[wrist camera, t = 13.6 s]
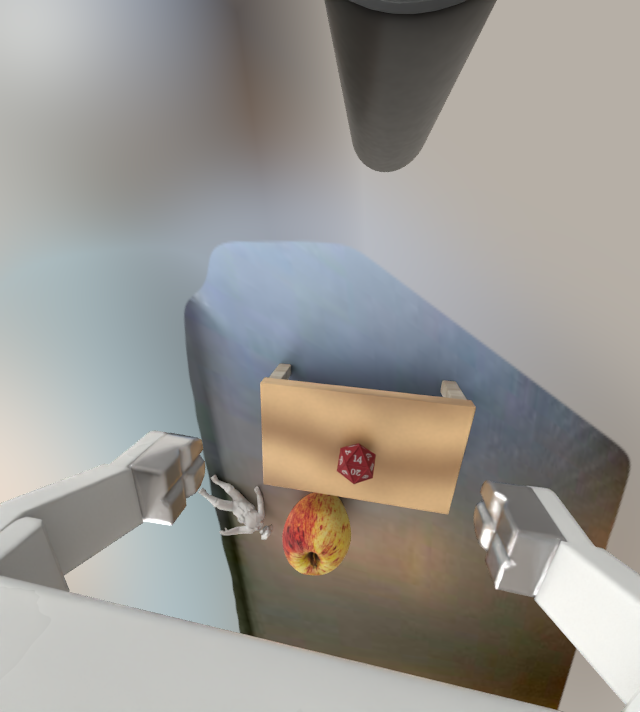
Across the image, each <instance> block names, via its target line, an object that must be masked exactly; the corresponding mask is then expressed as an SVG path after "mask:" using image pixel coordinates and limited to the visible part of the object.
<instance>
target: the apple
mask: <svg viewBox="0 0 640 712" xmlns="http://www.w3.org/2000/svg"><path fill="white" fill-rule="evenodd" d="M350 541H351V528H350V522H349V518H348V515H347V513H346V510H345V508H344V506H343V504H342V502H341V500H340V499H339V497H338V496H333V495H327V494H321V493H315V492H314V493H311V494H309V495H307V496H305V497H304V498H302V499H301V500H300V501H299V502H298V503H297V504H296V505H295V506H294V508H293V509H292V511H291V512H290V514H289V516H288V518H287V520H286V523H285V526H284V530H283V548H284V552H285V555H286V558H287V560H288V561H289V563H290V564H291V565H292V566H293V567H294V568H295V569H296V570H297V571H299V572H300V573H302V574H308V575H322V574H326V573H328V572H330V571H332V570H334V569H335V568H336V567H338V565H339V564H340V563H341V562H342V560H343V559H344V557H345V556H346V553H347V551H348V549H349V545H350Z"/></svg>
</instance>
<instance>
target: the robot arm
mask: <svg viewBox="0 0 640 712" xmlns="http://www.w3.org/2000/svg"><path fill="white" fill-rule="evenodd" d="M202 450H203V445H202V440H201V439H199V438H197V437H191V436H185V435H179V434H174V433H166V432H161V431H151V432H148V433H147V434H146V435H145V436H144V437H142V438H141V439H140V440H139V441H137V443H135V444H134V445H133V446H131V447H130V448H129V449H128V450H126V451H125V452H124V453H123V454H122V455H120V456H119V457H118V458H117V459H115V460H114V461H113V462H112V463H110V464H109V465H108V464H102V465H100V466H97V467H95V468H92V469H89V470H87V471H84V472H81V473H79V474H76V475H74V476H71V477H68V478H66V479H63V480H60V481H58V482H55V483H53V484H50V485H47V486H45V487H42V488H40V489H37V490H34V491H31V492H29V493H26V494H24V495H21V496H18V497H16V498H13V499H10V500H8V501H5V502H3V503H0V712H563V711H559V710H554V709H550V708H546V707H542V706H538V705H534V704H530V703H526V702H521V701H517V700H513V699H509V698H505V697H501V696H497V695H493V694H488V693H484V692H480V691H476V690H472V689H468V688H464V687H460V686H455V685H451V684H447V683H443V682H439V681H435V680H431V679H427V678H423V677H418V676H414V675H410V674H406V673H402V672H398V671H394V670H390V669H385V668H381V667H377V666H373V665H369V664H365V663H361V662H357V661H352V660H348V659H344V658H340V657H336V656H332V655H328V654H324V653H320V652H315V651H311V650H307V649H303V648H299V647H295V646H290V645H286V644H282V643H278V642H274V641H270V640H266V639H261V638H257V637H253V636H249V635H245V634H241V633H237V632H232V631H228V630H224V629H220V628H215V627H211V626H207V625H203V624H199V623H195V622H191V621H187V620H183V619H179V618H174V617H170V616H166V615H162V614H158V613H154V612H150V611H146V610H141V609H137V608H133V607H129V606H125V605H121V604H116V603H112V602H108V601H104V600H100V599H96V598H92V597H88V596H83V595H79V594H76V593H71V592H69V588H68V586H67V583H66V580H65V578H64V575H65V574H67V573H68V572H70V571H71V570H73V569H74V568H76V567H77V566H79V565H80V564H82V563H83V562H85V561H86V560H88V559H89V558H91V557H92V556H94V555H95V554H97V553H98V552H100V551H101V550H103V549H104V548H106V547H107V546H109V545H110V544H112V543H113V542H115V541H116V540H118V539H119V538H121V537H122V536H124V535H125V534H127V533H128V532H130V531H131V530H133V529H134V528H136V527H137V526H139V525H140V524H142V523H143V521H148V522H153V523H160V524H166V525H173V523H174V522H175V520H176V519H177V518H178V516H179V515H180V514H181V512H182V511H183V510H184V508H185V507H186V498H188V497H190V496H192V495H193V494H195V493H196V492H197V490H198V489H199V487H200V486H201V483H202V480H203V478H204V474H205V461H204V460H203V459H202V457H201V456H200V455H199V454H200V453H201V451H202ZM480 493H481V495H482V497H483V500H482V501H481V502H480V503H478V504H477V505H476V508H475V512H474V529H475V534H476V537H477V540H478V543H479V544H480V545H481V546H482V547H483V548H484V549H485V550H486V551H487V555H486V558H485V563H486V565H487V568H488V571H489V574H490V576H491V579H492V582H493V585H494V587H495V589H499V590H503V591H508V592H512V593H517V594H521V595H526V596H530V597H534V598H535V599H534V600H535V601H536V602H537V603H538V604H539V605H540V607H541V608H542V609H543V610H544V611H545V612H546V614H547V615H548V616H549V617H550V618H551V619H552V620H553V622H554V623H555V624H556V625H557V626H558V627H559V629H560V630H561V631H562V632H563V633H564V634H565V636H566V637H567V638H568V639H569V640H570V641H571V642H572V644H573V645H574V646H575V647H576V648H577V649H578V651H579V652H580V653H581V654H582V655H583V656H584V657H585V659H586V660H587V661H588V662H589V663H590V664H591V665H592V667H593V668H594V669H595V670H596V671H597V672H598V674H599V675H600V676H601V677H602V678H603V679H604V680H605V682H606V683H607V684H608V685H609V686H610V687H611V689H612V690H613V691H614V692H615V693H616V694H617V696H618V697H619V698H620V699H621V700H622V701H623V702H624V704H625V705H626V706H625V707H624V708H623V710H622V711H621V712H640V574H638V573H637V572H635V571H634V570H633V569H631V568H630V567H628V566H627V565H626V564H624V563H623V562H621V561H620V560H619V559H617V558H616V557H614V556H613V555H611V554H610V553H609V552H607V551H606V550H604V549H603V548H598V547H595V546H594V545H593V543H592V542H591V541H590V539H589V538H588V537H587V535H586V534H585V533H584V531H583V530H582V529H581V527H580V526H579V525H578V523H577V522H576V521H575V519H574V518H573V517H572V515H571V514H570V513H569V511H568V510H567V509H566V507H565V506H564V505H563V503H562V502H561V501H560V499H559V498H558V497H557V495H556V494H555V493H554V492H553V491H552V490H550V489H548V488H540V487H532V486H521V485H514V484H507V483H500V482H493V481H485V482H484V483H483V485H482V488H481V491H480Z"/></svg>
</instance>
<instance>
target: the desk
mask: <svg viewBox="0 0 640 712" xmlns="http://www.w3.org/2000/svg"><path fill="white" fill-rule="evenodd" d="M290 376H291V365H290V364H279V365H278V367H277V368H276V369H275V370H274V372H273V373H272V374H271V375H270V377H269V378H266V377H265V378H264V379H263V380H262V382H261V383H260V387H261V418H262V449H263V480H264V484H266V485H272V486H278V487H284V488H291V489H297V490H303V491H309V492H315V493H321V494H327V495H333V496H339V497H345V498H351V499H358V500H364V501H370V502H376V503H382V504H388V505H394V506H400V507H406V508H412V509H418V510H425V511H431V512H437V513H443V514H448V513H449V509H450V505H451V501H452V497H453V494H454V490H455V486H456V482H457V478H458V474H459V471H460V467H461V463H462V459H463V455H464V451H465V448H466V444H467V440H468V436H469V432H470V428H471V425H472V421H473V417H474V413H475V409H476V407H475V405H474V404H473V402H472V401H471V400H467V399H466V398H465V396H464V394H463V393H462V391H461V390H460V388H459V386H458V385H457V383H456V382H454V381H445V380H443V381H442V386H441V390H440V392H441V394H442V396H443V397H436V396H427V395H418V394H409V393H400V392H391V391H383V390H374V389H365V388H356V387H347V386H338V385H329V384H320V383H311V382H302V381H293V380H288V379H289V377H290ZM358 443H359V444H360V445H362V446H364V447H365V448H367V449H368V450H370V451H371V452H373V453H374V454H376V458H375V465H374V473H373V478H372V479H369V480H366V481H362V482H359V483H356V484H353V483H352V482H350V481H349V480H348V479H346V478H345V477H344V476H343V475H341V474H340V473H339V472H337V466H338V460H339V453H340V448H342V447H346V446H350V445H354V444H358Z"/></svg>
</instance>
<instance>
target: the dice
mask: <svg viewBox="0 0 640 712" xmlns="http://www.w3.org/2000/svg"><path fill="white" fill-rule="evenodd" d="M375 458H376V454H374V453H373V452H371V451H370V450H368V449H367V448H365V447H364V446H362V445H360V444H359V443H358V444H354V445H350V446H346V447H342V448H340V453H339V460H338V466H337V472H339V473H340V474H341V475H343V476H344V477H345V478H346V479H348V480H349V481H350V482H352V483H353V484H356V483H359V482H362V481H366V480H369V479H372V478H373V473H374V465H375Z"/></svg>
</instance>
